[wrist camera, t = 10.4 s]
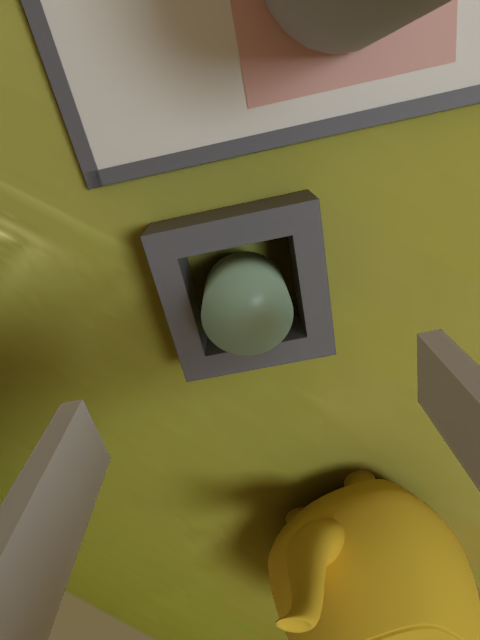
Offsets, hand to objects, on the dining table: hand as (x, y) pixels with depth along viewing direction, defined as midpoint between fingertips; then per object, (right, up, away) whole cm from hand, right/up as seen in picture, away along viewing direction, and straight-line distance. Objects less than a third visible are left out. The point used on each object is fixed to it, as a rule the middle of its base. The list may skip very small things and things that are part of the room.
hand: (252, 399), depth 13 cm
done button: (0, +4, +9) cm, 10 cm away
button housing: (0, +5, +11) cm, 12 cm away
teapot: (+8, -13, +20) cm, 26 cm away
